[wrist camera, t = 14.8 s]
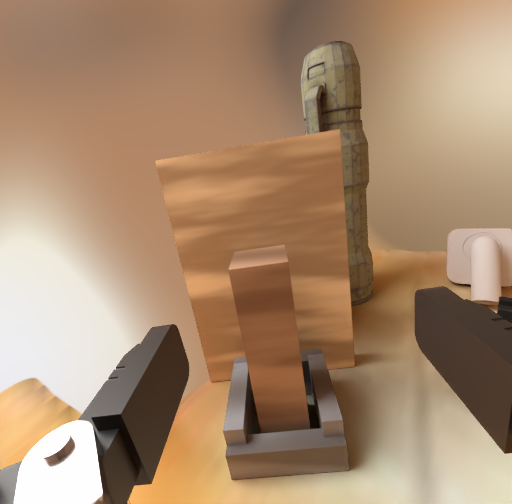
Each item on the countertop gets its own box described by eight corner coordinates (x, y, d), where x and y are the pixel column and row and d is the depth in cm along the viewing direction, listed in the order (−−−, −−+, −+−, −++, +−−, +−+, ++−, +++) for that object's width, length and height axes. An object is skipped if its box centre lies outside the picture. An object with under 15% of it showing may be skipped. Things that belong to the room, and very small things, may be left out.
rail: (264, 387, 29) (237, 243, 24) (302, 384, 29) (282, 236, 24) (264, 448, 23) (228, 269, 18) (312, 443, 23) (288, 261, 18)
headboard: (214, 369, 33) (163, 161, 26) (349, 354, 32) (334, 131, 25) (185, 483, 21) (78, 158, 14) (399, 466, 20) (397, 101, 13)
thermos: (305, 306, 44) (275, 50, 33) (329, 276, 53) (311, 69, 43) (364, 315, 39) (350, 19, 29) (379, 280, 48) (372, 47, 38)
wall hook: (448, 305, 37) (451, 230, 36) (445, 289, 46) (447, 228, 45) (531, 314, 33) (537, 229, 32) (510, 294, 41) (514, 227, 40)
